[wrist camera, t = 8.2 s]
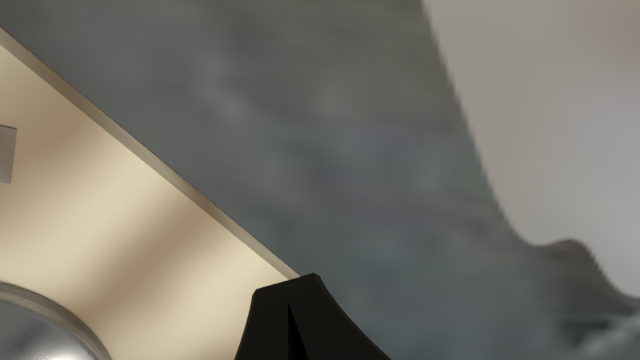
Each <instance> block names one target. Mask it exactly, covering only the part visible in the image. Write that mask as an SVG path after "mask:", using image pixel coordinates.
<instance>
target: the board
mask: <svg viewBox="0 0 640 360" xmlns="http://www.w3.org/2000/svg"><path fill="white" fill-rule="evenodd" d="M297 277H301V276H299V275H298V274H297V273H296V272H295V271H293V270H292V269H291V268H290V267H289V266H287V265H286V264H285V263H284V262H283V261H281V260H280V259H279V258H278V257H277V256H275V255H274V254H273V253H272V252H270V251H269V250H268V249H267V248H266V247H264V246H263V245H262V244H261V243H260V242H258V241H257V240H256V239H255V238H254V237H252V236H251V235H250V234H249V233H248V232H246V231H245V230H244V229H243V228H242V227H240V226H239V225H238V224H237V223H236V222H234V221H233V220H232V219H231V218H230V217H228V216H227V215H226V214H225V213H223V212H222V211H221V210H220V209H219V208H217V207H216V206H215V205H214V204H213V203H211V202H210V201H209V200H208V199H207V198H205V197H204V196H203V195H202V194H201V193H199V192H198V191H197V190H196V189H195V188H193V187H192V186H191V185H190V184H189V183H187V182H186V181H185V180H184V179H183V178H181V177H180V176H179V175H178V174H176V173H175V172H174V171H173V170H172V169H170V168H169V167H168V166H167V165H166V164H164V163H163V162H162V161H161V160H160V159H158V158H157V157H156V156H155V155H154V154H152V153H151V152H150V151H149V150H148V149H146V148H145V147H144V146H143V145H142V144H140V143H139V142H138V141H137V140H136V139H134V138H133V137H132V136H131V135H129V134H128V133H127V132H126V131H125V130H123V129H122V128H121V127H120V126H119V125H117V124H116V123H115V122H114V121H113V120H111V119H110V118H109V117H108V116H107V115H105V114H104V113H103V112H102V111H101V110H99V109H98V108H97V107H96V106H95V105H93V104H92V103H91V102H90V101H89V100H87V99H86V98H85V97H84V96H82V95H81V94H80V93H79V92H78V91H76V90H75V89H74V88H73V87H72V86H70V85H69V84H68V83H67V82H66V81H64V80H63V79H62V78H61V77H60V76H58V75H57V74H56V73H55V72H54V71H52V70H51V69H50V68H49V67H48V66H46V65H45V64H44V63H43V62H42V61H40V60H39V59H38V58H37V57H35V56H34V55H33V54H32V53H31V52H29V51H28V50H27V49H26V48H25V47H23V46H22V45H21V44H20V43H19V42H17V41H16V40H15V39H14V38H13V37H11V36H10V35H9V34H8V33H7V32H5V31H4V30H3V29H2V28H1V27H0V284H3V285H7V286H11V287H15V288H19V289H22V290H24V291H27V292H30V293H33V294H36V295H38V296H40V297H43V298H45V299H47V300H49V301H51V302H53V303H55V304H57V305H59V306H60V307H62V308H63V309H65V310H67V311H68V312H70V313H71V314H73V315H74V316H75V317H77V318H78V319H79V320H80V321H82V322H83V323H84V324H85V325H87V326H88V327H89V328H90V329H91V331H92V332H93V333H94V334H95V335H96V336H97V337H98V338H99V339H100V341H101V342H102V343H103V345H104V346H105V348H106V349H107V350H108V352H109V354H110V356H111V358H112V360H234V359H235V356H236V353H237V350H238V347H239V344H240V341H241V338H242V335H243V331H244V328H245V325H246V321H247V317H248V313H249V309H250V304H251V299H252V294H253V293H254V291H255V290H256V289H258V288H261V287H265V286H269V285H272V284H276V283H279V282H283V281H287V280H290V279H294V278H297Z"/></svg>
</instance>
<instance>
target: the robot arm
mask: <svg viewBox="0 0 640 360" xmlns="http://www.w3.org/2000/svg"><path fill="white" fill-rule="evenodd" d="M234 360H391V359H390V358H389V357H388V356H387V355H386V354H385V353H384V352H382V351H381V350H380V349H379V348H378V347H377V346H376V345H375V344H374V343H373V342H372V341H371V340H370V339H369V338H368V337H367V336H366V335H365V334H364V333H363V332H362V331H361V330H360V329H359V328H358V327H357V326H356V324H355V323H354V322H353V321H352V320H351V319H350V318H349V317H348V316H347V315H346V313H345V312H344V311H343V310H342V309H341V307H340V306H339V305H338V304H337V302H336V301H335V300H334V298H333V297H332V296H331V294H330V293H329V292H328V290H327V288H326V287H325V285H324V284H323V282H322V280H321V278H320V276H318V275H317V274H315V273H312V274H308V275H304V276H301V277H297V278H294V279H290V280H287V281H283V282H279V283H276V284H272V285H269V286H265V287H261V288H258V289H256V290H255V291H254V293H253V294H252V299H251V304H250V309H249V313H248V317H247V321H246V325H245V328H244V331H243V335H242V338H241V341H240V344H239V347H238V350H237V353H236V356H235V359H234Z"/></svg>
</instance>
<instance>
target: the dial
mask: <svg viewBox="0 0 640 360" xmlns="http://www.w3.org/2000/svg"><path fill="white" fill-rule="evenodd" d="M0 360H112V358H111V356H110V354H109V352H108V350H107V349H106V348H105V346H104V345H103V343H102V342H101V341H100V339H99V338H98V337H97V336H96V335H95V334H94V333H93V332H92V331H91V329H90V328H89V327H88V326H87V325H85V324H84V323H83V322H82V321H80V320H79V319H78V318H77V317H75V316H74V315H73V314H71V313H70V312H68V311H67V310H65V309H63V308H62V307H60V306H59V305H57V304H55V303H53V302H51V301H49V300H47V299H45V298H43V297H40V296H38V295H36V294H33V293H30V292H27V291H24V290H22V289H19V288H15V287H11V286H7V285H3V284H0Z"/></svg>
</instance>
